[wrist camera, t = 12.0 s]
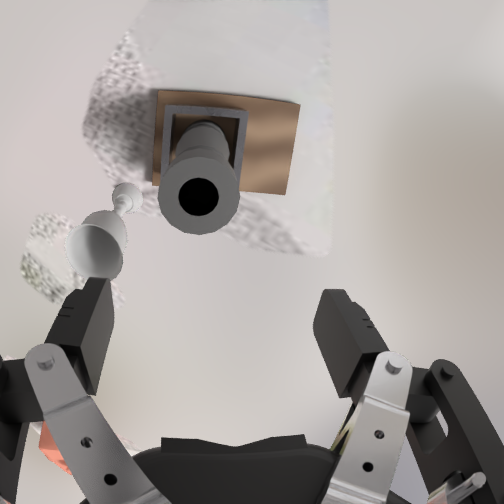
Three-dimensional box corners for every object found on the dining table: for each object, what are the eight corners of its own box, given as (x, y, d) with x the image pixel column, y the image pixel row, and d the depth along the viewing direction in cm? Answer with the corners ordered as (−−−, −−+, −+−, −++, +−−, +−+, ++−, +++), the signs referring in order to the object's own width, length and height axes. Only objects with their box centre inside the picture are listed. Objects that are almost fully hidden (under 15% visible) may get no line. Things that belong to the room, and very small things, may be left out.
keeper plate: (159, 90, 41) (158, 90, 39) (297, 104, 44) (300, 104, 43) (153, 182, 47) (152, 185, 46) (283, 192, 51) (285, 195, 49)
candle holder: (172, 141, 43) (135, 199, 21) (203, 110, 42) (198, 133, 20) (203, 170, 46) (200, 253, 24) (234, 140, 44) (262, 196, 22)
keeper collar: (169, 103, 40) (165, 105, 36) (244, 109, 42) (249, 111, 38) (164, 174, 45) (160, 184, 41) (235, 179, 47) (238, 189, 43)
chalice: (155, 210, 49) (134, 272, 34) (119, 226, 50) (86, 290, 34) (136, 168, 46) (102, 213, 30) (99, 186, 46) (53, 237, 30)
